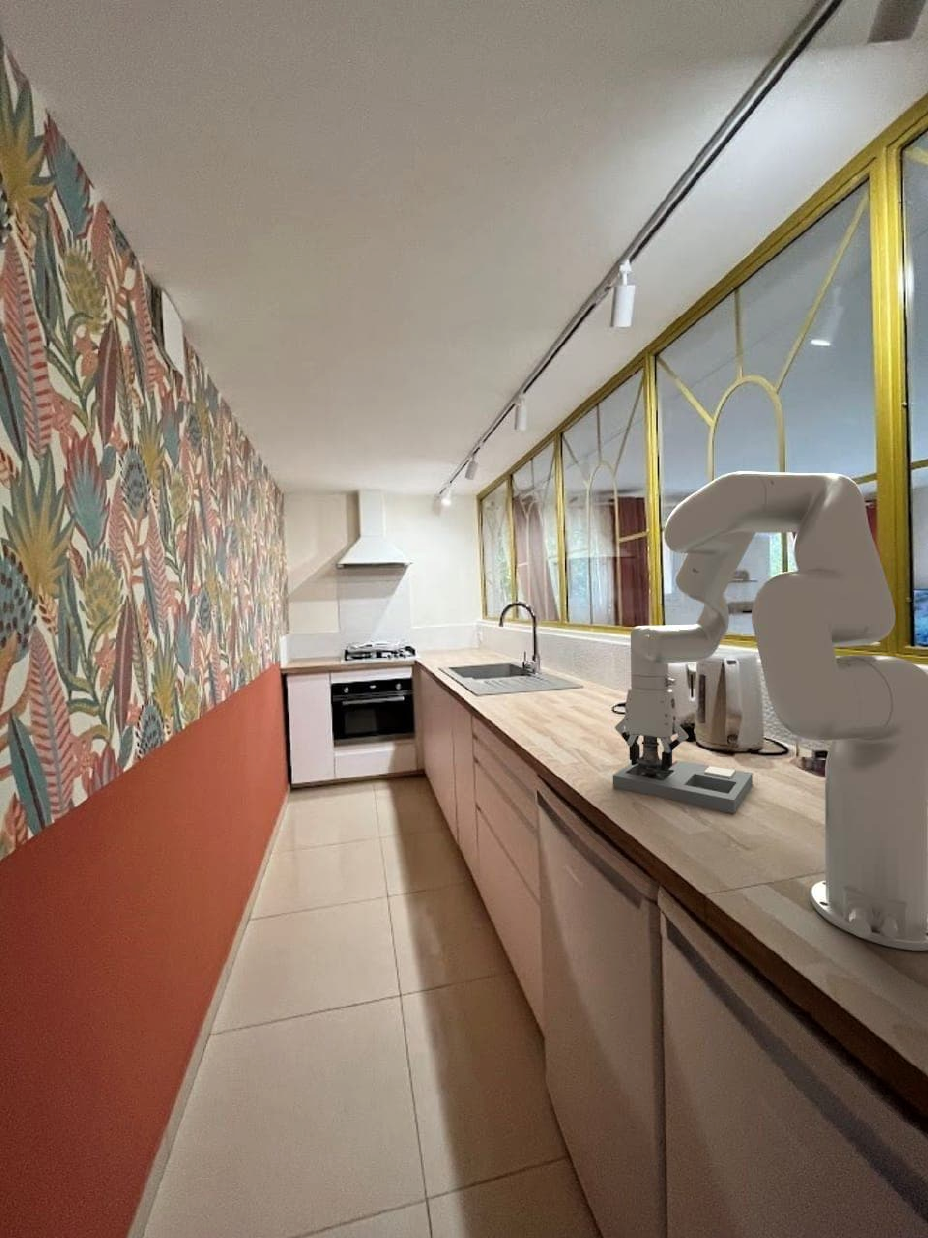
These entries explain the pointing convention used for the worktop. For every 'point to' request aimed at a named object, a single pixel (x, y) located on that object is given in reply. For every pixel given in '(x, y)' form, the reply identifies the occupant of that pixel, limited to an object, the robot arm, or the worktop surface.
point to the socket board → (690, 784)
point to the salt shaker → (650, 759)
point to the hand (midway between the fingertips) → (650, 765)
